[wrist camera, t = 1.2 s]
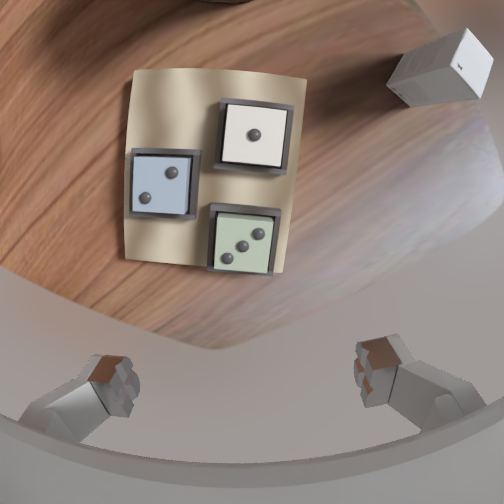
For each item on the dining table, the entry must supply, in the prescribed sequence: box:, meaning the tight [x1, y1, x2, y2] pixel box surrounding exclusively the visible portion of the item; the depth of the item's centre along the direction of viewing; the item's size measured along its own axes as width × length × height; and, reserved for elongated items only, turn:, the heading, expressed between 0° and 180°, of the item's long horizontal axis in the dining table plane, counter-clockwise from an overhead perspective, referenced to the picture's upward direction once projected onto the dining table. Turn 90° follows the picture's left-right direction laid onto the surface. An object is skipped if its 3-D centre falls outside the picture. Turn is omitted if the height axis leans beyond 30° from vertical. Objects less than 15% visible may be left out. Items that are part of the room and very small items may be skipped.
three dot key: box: [214, 213, 274, 273], centre depth 28 cm, size 5×5×2 cm
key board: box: [124, 68, 307, 276], centre depth 27 cm, size 17×20×4 cm
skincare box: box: [386, 28, 494, 107], centre depth 20 cm, size 6×4×12 cm
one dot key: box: [222, 105, 287, 166], centre depth 24 cm, size 5×5×2 cm
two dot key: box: [133, 156, 191, 214], centre depth 25 cm, size 5×5×2 cm
